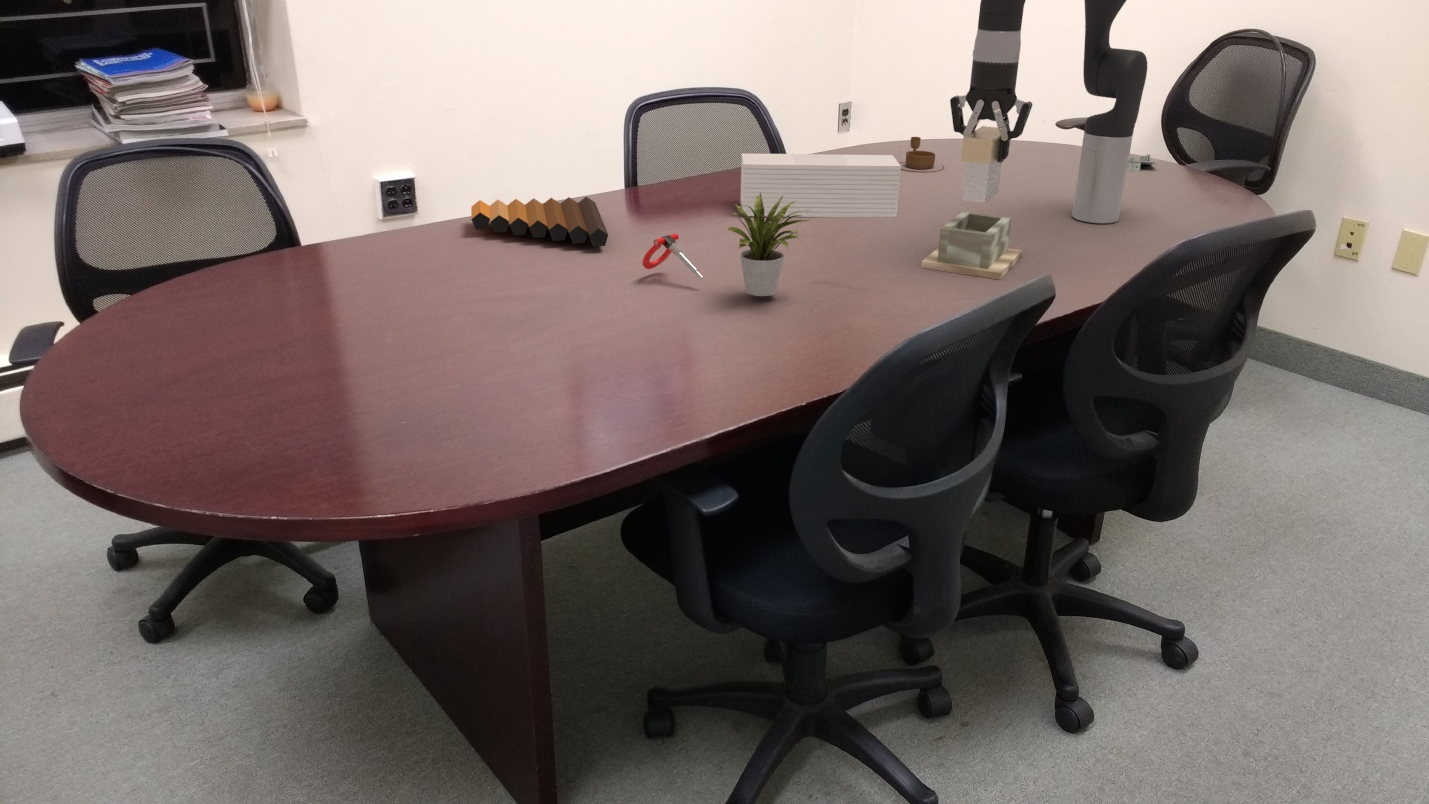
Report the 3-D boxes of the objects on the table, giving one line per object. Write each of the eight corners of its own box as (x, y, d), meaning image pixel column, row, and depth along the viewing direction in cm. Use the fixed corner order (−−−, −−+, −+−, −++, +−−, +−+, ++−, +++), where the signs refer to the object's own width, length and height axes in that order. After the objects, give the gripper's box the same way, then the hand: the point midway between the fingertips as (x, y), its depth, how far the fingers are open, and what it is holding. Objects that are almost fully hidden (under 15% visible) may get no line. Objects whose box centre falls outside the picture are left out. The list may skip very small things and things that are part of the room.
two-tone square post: (975, 187, 199) (982, 126, 195) (1003, 191, 197) (1010, 128, 193) (956, 201, 190) (963, 137, 185) (985, 205, 188) (992, 140, 183)
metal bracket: (1168, 154, 260) (1102, 151, 263) (1165, 179, 261) (1099, 175, 263) (1153, 159, 274) (1091, 156, 277) (1151, 183, 275) (1089, 180, 277)
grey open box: (947, 245, 208) (951, 208, 205) (1021, 256, 202) (1027, 218, 199) (921, 267, 195) (924, 227, 192) (999, 279, 189) (1004, 239, 186)
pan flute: (608, 245, 205) (595, 212, 227) (608, 228, 203) (594, 196, 226) (471, 251, 200) (472, 216, 222) (470, 233, 199) (470, 200, 221)
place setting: (874, 172, 268) (876, 148, 266) (908, 159, 283) (910, 135, 281) (942, 182, 259) (944, 157, 257) (973, 168, 275) (976, 144, 272)
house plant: (775, 313, 172) (779, 211, 165) (701, 297, 178) (702, 198, 171) (817, 289, 183) (823, 192, 176) (745, 275, 189) (748, 181, 183)
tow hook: (661, 260, 195) (678, 230, 190) (698, 300, 192) (716, 271, 187) (635, 269, 190) (651, 238, 185) (673, 310, 187) (690, 280, 182)
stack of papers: (888, 205, 237) (892, 155, 233) (896, 218, 227) (901, 165, 223) (740, 203, 236) (741, 153, 232) (742, 216, 227) (743, 164, 222)
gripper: (1044, 58, 184) (1030, 160, 191) (960, 53, 190) (950, 151, 197) (1033, 63, 178) (1020, 168, 185) (947, 57, 184) (937, 159, 191)
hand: (984, 159), depth 191 cm, fingers closed on two-tone square post, 5 cm apart
